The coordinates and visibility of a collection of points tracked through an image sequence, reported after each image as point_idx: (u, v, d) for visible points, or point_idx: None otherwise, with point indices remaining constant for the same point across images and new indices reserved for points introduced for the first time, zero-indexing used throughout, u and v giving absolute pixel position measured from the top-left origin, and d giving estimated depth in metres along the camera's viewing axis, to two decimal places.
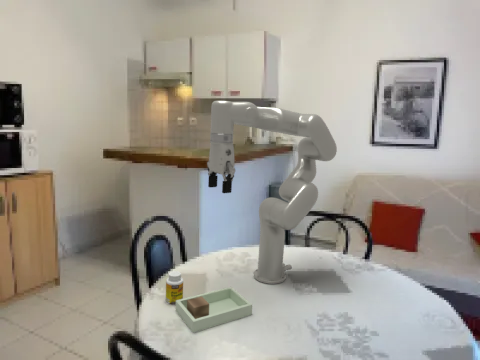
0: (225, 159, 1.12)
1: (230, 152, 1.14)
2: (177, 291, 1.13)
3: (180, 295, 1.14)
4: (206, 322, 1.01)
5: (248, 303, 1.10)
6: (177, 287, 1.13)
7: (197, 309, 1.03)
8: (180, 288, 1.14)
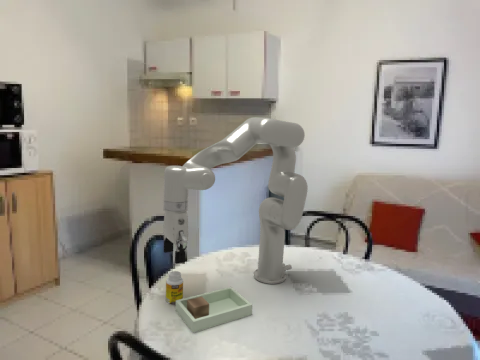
0: (177, 229, 1.07)
1: (183, 221, 1.08)
2: (177, 291, 1.13)
3: (180, 295, 1.14)
4: (206, 322, 1.01)
5: (248, 303, 1.10)
6: (177, 287, 1.13)
7: (197, 309, 1.03)
8: (180, 288, 1.14)
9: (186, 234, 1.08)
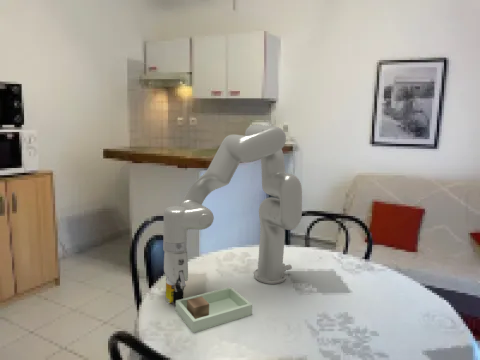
0: (177, 269, 1.09)
1: (183, 261, 1.10)
2: None
3: None
4: (206, 322, 1.01)
5: (248, 303, 1.10)
6: None
7: (197, 309, 1.03)
8: None
9: (186, 273, 1.11)
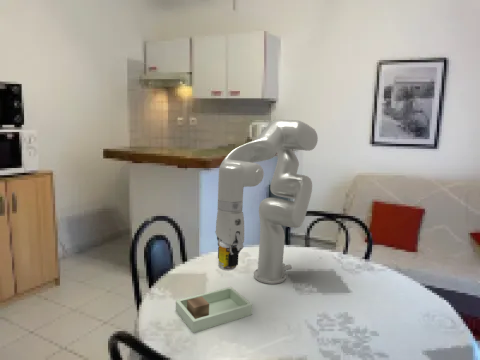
0: (234, 230, 1.02)
1: (240, 221, 1.03)
2: None
3: None
4: (206, 322, 1.01)
5: (248, 303, 1.10)
6: None
7: (197, 309, 1.03)
8: None
9: (242, 235, 1.04)
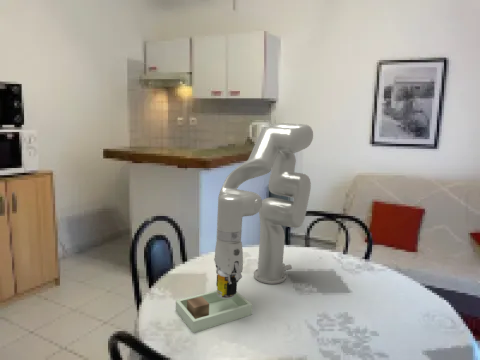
0: (233, 260, 1.04)
1: (238, 251, 1.05)
2: None
3: None
4: (206, 322, 1.01)
5: (248, 303, 1.10)
6: None
7: (197, 309, 1.03)
8: None
9: (241, 264, 1.05)
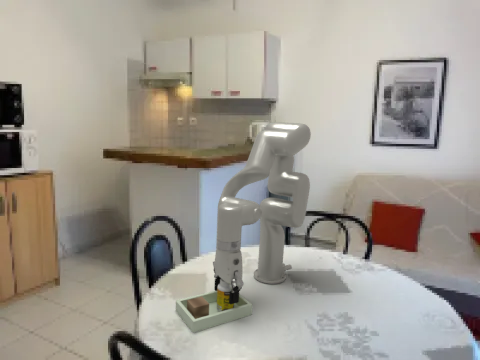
0: (233, 269, 1.04)
1: (238, 260, 1.05)
2: None
3: None
4: (206, 322, 1.01)
5: (248, 303, 1.10)
6: None
7: (197, 309, 1.03)
8: None
9: (240, 274, 1.06)
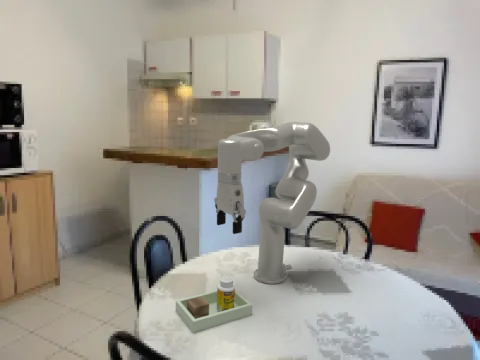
0: (235, 200, 1.09)
1: (239, 192, 1.11)
2: (229, 298, 1.09)
3: (232, 302, 1.10)
4: (206, 322, 1.01)
5: (248, 303, 1.10)
6: (230, 294, 1.08)
7: (197, 309, 1.03)
8: (233, 295, 1.09)
9: (242, 205, 1.11)
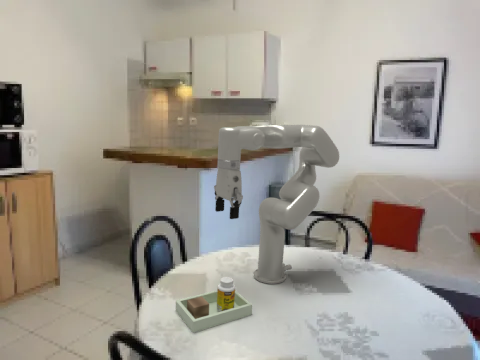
0: (232, 186, 1.13)
1: (237, 178, 1.15)
2: (230, 298, 1.09)
3: (232, 302, 1.10)
4: (206, 322, 1.01)
5: (248, 303, 1.10)
6: (230, 294, 1.08)
7: (197, 309, 1.03)
8: (233, 295, 1.09)
9: (240, 191, 1.15)
